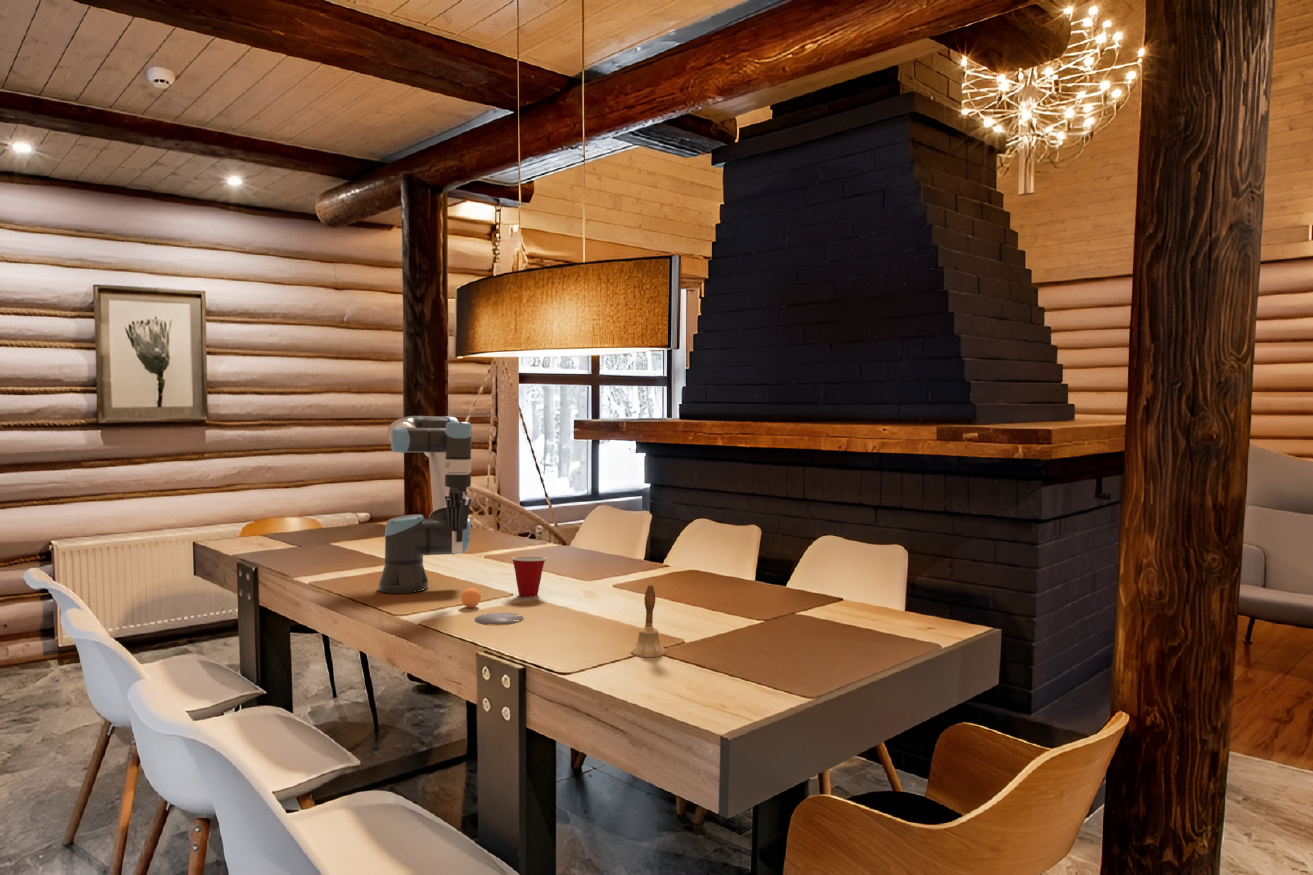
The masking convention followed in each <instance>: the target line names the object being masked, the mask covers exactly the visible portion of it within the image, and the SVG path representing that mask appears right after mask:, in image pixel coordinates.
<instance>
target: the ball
mask: <svg viewBox="0 0 1313 875" xmlns="http://www.w3.org/2000/svg"><path fill="white" fill-rule="evenodd" d="M481 596H482V595H481V593H480V592H479V590H478V589H476V588H473V587H472V588H471V587H470V588H467V589H465V590H464V591H463V592H462V594H461V598H460V599H461V600H460V601H461V602H462V604H463V606H465V607H467V608H471V609H472V608H475V607H476V606H478V605H479V604H480V602H481V599H482V597H481Z"/></svg>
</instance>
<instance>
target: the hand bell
mask: <svg viewBox="0 0 1313 875" xmlns="http://www.w3.org/2000/svg"><path fill="white" fill-rule="evenodd" d="M655 605H656V593H655V588H654V585H652V584H649V585H647V589H646V590H645V594H644V607H645V611H646V612H645V613H646V614H645V615H646V616H645V622H644V625H645V626H644V627H642V628H640V629H639V631H638V638H637V641H636V644H635V645H634V647H632V648H631V650H630V653H631V655H633V656H636V657H642V658H659V657H663V656H665V655H666V653H667V651H666V649H665V648H664V647H663V646H662V644H661V642H660V638H659V637H660V636H659V630H658V629H657V628H655V627H654V626H653V622H654V621H653V620H654V616H653V614H654V608H655Z"/></svg>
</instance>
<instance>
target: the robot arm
mask: <svg viewBox="0 0 1313 875" xmlns="http://www.w3.org/2000/svg"><path fill="white" fill-rule="evenodd" d="M472 436H473V432H472V423H471V422H467V421H459V420H458V418H456V417H454V416H447V415H442V416H438V415H437V416H436V415H435V416H433V415H432V416H431V415H430V416H429V415H409V416H403V417H400V418H398V419H396V420H394V421H393V422H391V423H390V425H389V426H388V429H387V438H388V440H389V442H390V448H391V451H392V452H393V453H401V454H405V453H424V455H425V456H426V457H428V461H429V475H430V476H429V477H430V489H431V502H432V511H431V512H430V513H429V515H428V518H425V517H424V515H423V514H421V513H420V514H418V513H417V514H407V515H401V516H396V517H392V518H390V519H387V521H386V523H385V528H384V530H385V532H384V533H383V534H384V537H385V538H384V539H385V540H384V567H383V570H382V573H381V576H380V579H379V582H378V591H379V590H380V591H382V592H381V593H384V592H386V593H385V594H393V593H403V594H410V593H409V592H415V591H419V590H422V589H426V590H428V589H429V579H428V576H427V573H426V569H425V566H424V556H440V555H441V556H442V555H454V556H455V554H456V555H458V554H459V555H461V554H465V553H466V552H467V551H468V549H469V545H470V541H471V540H470V539H471V529H472V519H471V518H470V517H469V513H470V506H471V503H472V498H471V497H468V491H467V488H469V487H471V484H472V475H471V474H470V473H471V472H472ZM427 588H428V589H427ZM380 591H379V592H380ZM415 593H416V592H415Z"/></svg>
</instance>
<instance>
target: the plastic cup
mask: <svg viewBox="0 0 1313 875" xmlns="http://www.w3.org/2000/svg"><path fill="white" fill-rule="evenodd" d="M511 560H512V563H513V567H514V573H515V580H516V586H517V591H518V596H519V597H522V598H534V597H536V596H538V594H539V590H540V584H541V579H542V573H543V568H544V565H545V562H546V561H547V557H544V556H543V557H542V556H513V557H511Z"/></svg>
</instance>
